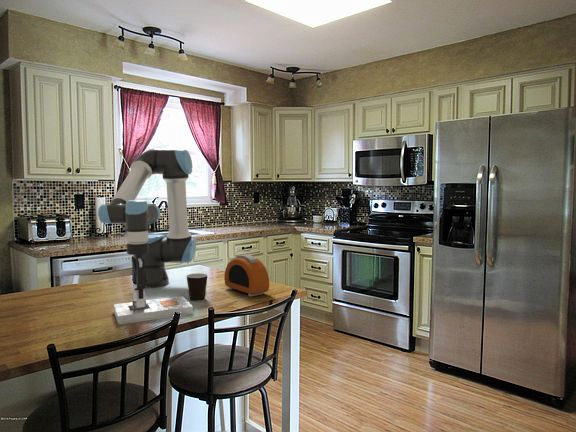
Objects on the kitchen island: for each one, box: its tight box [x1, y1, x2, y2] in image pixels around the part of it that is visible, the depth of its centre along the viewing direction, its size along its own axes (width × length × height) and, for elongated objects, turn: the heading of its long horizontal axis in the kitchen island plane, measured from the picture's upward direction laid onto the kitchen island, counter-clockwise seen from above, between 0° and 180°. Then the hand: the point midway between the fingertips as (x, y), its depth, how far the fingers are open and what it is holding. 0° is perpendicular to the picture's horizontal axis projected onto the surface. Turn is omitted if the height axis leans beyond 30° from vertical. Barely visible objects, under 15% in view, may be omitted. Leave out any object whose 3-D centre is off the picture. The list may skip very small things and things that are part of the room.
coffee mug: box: [186, 273, 208, 302], centre depth 179 cm, size 12×9×10 cm
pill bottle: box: [132, 291, 147, 311], centre depth 156 cm, size 5×5×8 cm
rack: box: [113, 295, 194, 326], centre depth 158 cm, size 16×26×3 cm, turn 118°
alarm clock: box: [224, 254, 270, 297], centre depth 190 cm, size 23×9×17 cm, turn 41°
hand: (139, 304), depth 156 cm, fingers open, 7 cm apart
